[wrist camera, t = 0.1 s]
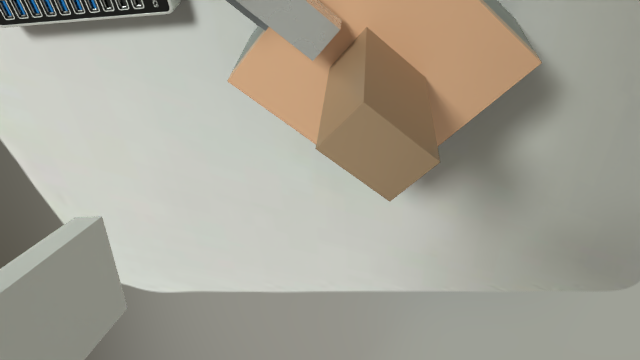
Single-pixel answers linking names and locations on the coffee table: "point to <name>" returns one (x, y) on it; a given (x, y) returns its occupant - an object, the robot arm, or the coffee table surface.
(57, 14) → the multiport hub
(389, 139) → the cover
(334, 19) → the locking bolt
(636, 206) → the coffee table surface
